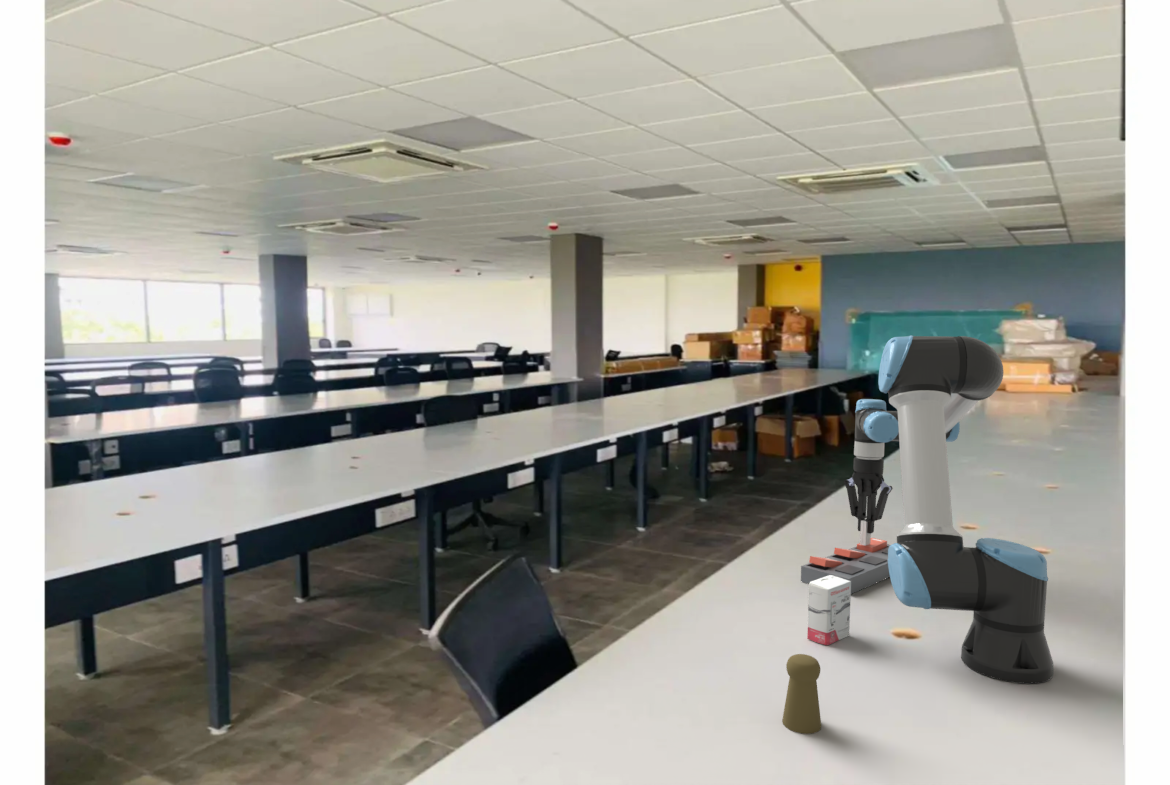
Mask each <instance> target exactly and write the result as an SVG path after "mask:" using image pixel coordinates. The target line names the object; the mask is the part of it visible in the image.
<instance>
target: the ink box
mask: <svg viewBox="0 0 1170 785" xmlns="http://www.w3.org/2000/svg"><path fill="white" fill-rule="evenodd" d="M807 593H808V595H807V596H808V597H807V598H808V599H807V602H808V603H807V640H810V641H811V642H815V643H818V644H820V645H822V646H830V645H832V644H835V642H839V641H840V640H842V639H845V638H847V637H849V636H850V628H851V627H850V626H851V624H850V622H851V620H850V618H851V598H852V597H851V595H852V594H851V581H848V580H845V579H842V578H839V577H836V576H833V575H828V576H825V577H823V578H820V579H817V580H814V581H811V582H810V583H809V584H808V589H807Z"/></svg>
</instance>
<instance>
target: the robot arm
mask: <svg viewBox="0 0 1170 785" xmlns="http://www.w3.org/2000/svg"><path fill="white" fill-rule="evenodd" d="M1003 379H1004V365H1003V362H1002V359H1001V358H1000V356H999V354H998V353H997V352H996V350H995V349H994V348H993V347H992V346H990V345H989V344H988V343H986V342H984V341H983V340H980V339H979V338H975V337H971V336H967V335H961V336H960V335H958V336H943V335H942V336H939V335H937V336H936V335H935V336H934V335H932V336H931V335H929V336H928V335H927V336H924V335H923V336H920V335H918V336H917V335H911V334H910V335H907V336H894V337H892V338H890V339H889V340H888V341H887V342H886V343H885V346H884V348H883V350H882V354H881V359H880V363H879V370H878V382H877V383H878V389H879V391H880V392H881V393H883V394H887V393H888V403H889V404H890V405H891V406H892V407H893V408H895V409H896V410H887V403H886V401H885V400H882V399H877V398H876V399H873V398H861V399H858V400H857V401H856V403H855V404H856V406H855V411H854V414H855V420H854V421H855V423H854V424H855V427H854V445H853V447H854V448H853V455H854V456H855V457H854V458H853V468H852V469H853V473H852V475H851V477H850V478H849V479H844V480H843V485H844V486H845V489H846V491H847V496H848V497H847V498H848V503H849V509H850V515H851V516H852V517H856V518H857V531H858V532H859V533H860V534H859V543H860V545H865V546H866V545H869V544H870V542H871V538H872V534H873V533H874V531H875V521H876V522H877V521H879V520H881V519H882V518H883V515H884V511H885V508H886V505H887V501H888V497H889V495H890V493H891V492H892V490H893V489H894V488H893V486H892V485H888V483H886V482H885V479H884V478H885V477H884V469H885V468H884V467H885V466H884V465H885V460H884V459H883V458H884V456H885V443H890V442H899V457H900V460H899V461H900V462H899V463H900V473H901V475H900V476H901V477H900V479H901V489H902V490H901V491H902V492H901V493H902V508H903V509H902V510H903V511H902V512H903V524H904V525H903V526H904V527H903V528H902V530H900V531H899V532H898V533H897V534H896V542H894V543H891V544H889V545H890V547H889V549H888V568H889V574H890V582H891V586H892V589H893V591H894V594H895V596H896V598H897V599H898V601H899V602H900V603H901V604H903V605H904V606H907V607H909V608H917V609H918V608H920V609H924V610H930V609H931V610H933V609H934V610H946V611H947V610H948V611H950V610H951V611H965V612H966V611H972V612H973V614H972V617H973V618H972V622H971V623H970V626H969V629H968V631H967V633H966V635H965V637H964V640H963V642H962V644H961V655H960V658H961V661H962V663H964V665H965V666H967V667H968V668H969V669H971V670H973V671H974V672H976V673H979V674H981V675H983V676H986V677H988V678H992V679H996V680H999V681H1005V682H1009V683H1010V682H1011V683H1014V684H1015V683H1017V684H1040V683H1045V682H1048V681H1049V680H1051V679H1052V678H1053V676H1054V661H1053V656H1052V655H1051V651H1050V648H1049V644H1048V641H1047V638H1046V634H1045V619H1046V605H1047V604H1046V603H1047V587H1048V581H1049V578H1048V562H1047V558H1046V557H1045V556H1044V554H1042V553H1041V552H1040V551H1038V550H1037V549H1035V548H1032V547H1030V546H1028V545H1024V544H1020V543H1017V542H1014V541H1009V540H1005V539H1001V538H1000V539H999V538H993V537H984V538H982V537H981V538H979V539H977V540H976V543H975V544H974V545H975V547H971V546H969V547H967V546H966V547H965V546H964V539H963V535H962V534H961V533H959V532H958V531H957V530H956V529H955V527H954V525H953V524H954V522H953V512H952V511H953V510H952V499H951V498H952V497H951V488H950V487H951V485H950V472H949V461H948V448H947V443H953V442H956V440H958V437H959V434H960V427H961V426H960V421H961V420H962V419H963V418H964V417H965V416H966V414H968V412H969V411H971V409H972V408H974V407H975V406H976V404H977V403H979V401H984V400H986V399H988V398H990V397H991V396H992V395H993V394H994V393H995V392H997V390H998V389H999V387H1000V386H1001V384H1002V382H1003ZM856 488H857V489H856ZM878 490H880V493H879V495H878ZM877 496H878V500H877Z"/></svg>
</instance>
